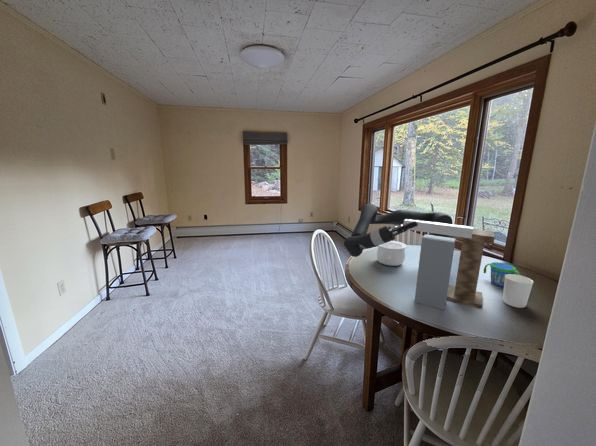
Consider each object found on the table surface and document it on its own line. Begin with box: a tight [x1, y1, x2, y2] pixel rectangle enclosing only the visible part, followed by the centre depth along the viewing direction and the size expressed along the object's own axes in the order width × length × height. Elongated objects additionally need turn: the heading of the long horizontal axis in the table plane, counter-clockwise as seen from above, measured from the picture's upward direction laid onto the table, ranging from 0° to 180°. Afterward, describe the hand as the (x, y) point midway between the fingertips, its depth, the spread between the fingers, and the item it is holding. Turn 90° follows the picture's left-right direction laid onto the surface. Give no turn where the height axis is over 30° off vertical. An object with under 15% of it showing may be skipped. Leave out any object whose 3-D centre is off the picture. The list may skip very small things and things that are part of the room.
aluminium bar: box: [404, 219, 474, 239], centre depth 113 cm, size 26×4×4 cm, turn 56°
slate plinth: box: [414, 234, 456, 311], centre depth 116 cm, size 12×8×30 cm, turn 56°
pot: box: [376, 240, 407, 267], centre depth 165 cm, size 22×17×12 cm
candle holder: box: [502, 273, 534, 309], centre depth 118 cm, size 10×10×12 cm
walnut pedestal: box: [446, 228, 496, 309], centre depth 121 cm, size 16×14×32 cm
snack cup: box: [483, 261, 521, 287], centre depth 138 cm, size 16×10×10 cm
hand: (417, 222), depth 117 cm, fingers closed on aluminium bar, 3 cm apart
